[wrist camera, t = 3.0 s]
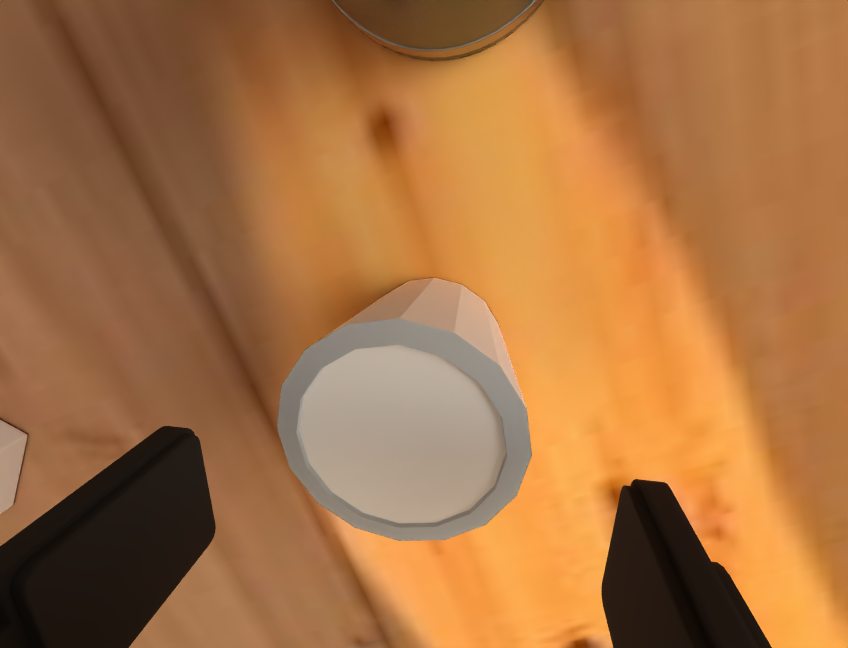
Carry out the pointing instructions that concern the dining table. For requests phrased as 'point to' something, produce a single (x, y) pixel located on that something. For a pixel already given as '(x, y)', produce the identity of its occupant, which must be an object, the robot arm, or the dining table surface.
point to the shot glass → (409, 416)
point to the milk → (10, 462)
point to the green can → (437, 24)
